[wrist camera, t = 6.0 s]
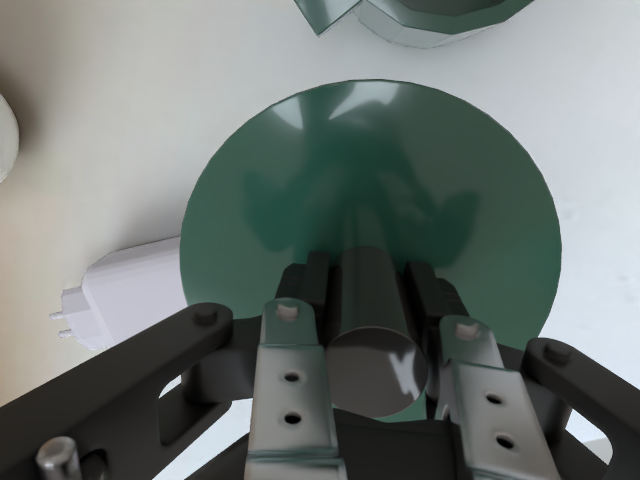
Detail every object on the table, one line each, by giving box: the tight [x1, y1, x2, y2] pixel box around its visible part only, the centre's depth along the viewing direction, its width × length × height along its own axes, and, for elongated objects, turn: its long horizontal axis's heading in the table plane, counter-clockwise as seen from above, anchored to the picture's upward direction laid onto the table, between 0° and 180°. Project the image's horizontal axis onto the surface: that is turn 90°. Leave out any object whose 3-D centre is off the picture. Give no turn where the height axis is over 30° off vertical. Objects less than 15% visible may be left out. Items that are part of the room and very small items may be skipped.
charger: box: [49, 236, 188, 350], centre depth 34 cm, size 5×9×15 cm
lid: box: [179, 79, 562, 423], centre depth 13 cm, size 13×13×6 cm
